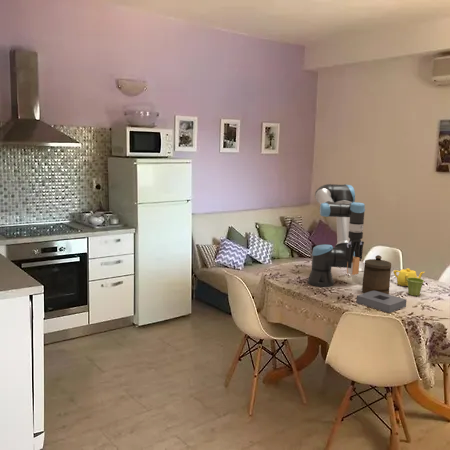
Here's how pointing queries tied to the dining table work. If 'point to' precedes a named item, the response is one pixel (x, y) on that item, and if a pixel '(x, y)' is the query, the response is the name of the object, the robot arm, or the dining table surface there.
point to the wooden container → (376, 275)
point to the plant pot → (414, 286)
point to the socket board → (381, 301)
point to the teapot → (406, 276)
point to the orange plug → (355, 265)
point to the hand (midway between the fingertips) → (352, 272)
